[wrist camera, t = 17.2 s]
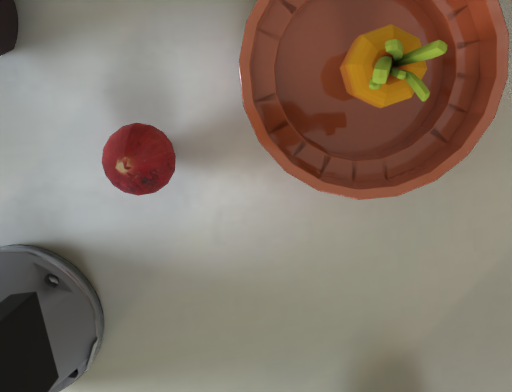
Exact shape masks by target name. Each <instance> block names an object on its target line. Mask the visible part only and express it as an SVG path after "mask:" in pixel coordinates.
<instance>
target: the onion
mask: <svg viewBox="0 0 512 392" xmlns="http://www.w3.org/2000/svg"><path fill="white" fill-rule="evenodd" d="M102 164H103V168H104V171H105V175H106V176H107V177H108V179H109V180H110V181H111V183H112V184H113V185H114V186H116V187H117V188H119V189H120V190H122V191H123V192H126V193H130V194H134V195H144V194H149V193H154V192H156V191H158V190H159V189H161V188H162V187H164V186H165V185H166V184H168V182H169V180H170V178H171V176H172V175H173V173H174V171H175V153H174V149H173V146H172V143H171V142H170V140H169V139H168V138H167V136H166V135H165V134H164V133H163V132H162V131H160V130H158V129H157V128H155V127H153V126H151V125H146V124H140V123H134V124H130V125H127V126H123V127H122V128H120V129H119V130H118V131H116V132H115V133H114V134H113V135H111V136H110V138H109V140H108V141H107V143H106V145H105V147H104V149H103V157H102Z"/></svg>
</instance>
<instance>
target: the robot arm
mask: <svg viewBox="0 0 512 392" xmlns="http://www.w3.org/2000/svg"><path fill="white" fill-rule="evenodd" d="M103 329H104V322H103V313H102V309H101V305H100V302H99V300H98V297H97V295H96V293H95V291H94V289H93V288H92V286H91V284H90V283H89V282H88V280H87V279H86V278H85V277H84V275H83V274H82V273H81V272H80V271H79V270H78V269H77V268H76V267H74V266H73V265H72V264H71V263H69V262H68V261H66V260H65V259H64V258H62V257H60V256H58V255H56V254H54V253H52V252H50V251H47V250H44V249H41V248H37V247H33V246H26V245H10V246H3V247H0V392H59V391H61V390H63V389H64V388H66V387H67V386H69V385H70V384H72V383H73V382H74V381H76V380H77V379H78V378H79V377H80V376H81V375H82V374H83V373H84V371H85V370H86V372H87V370H88V369H89V368H90V366H91V364H92V360H93V359H94V357H95V356H96V354H97V352H98V350H99V348H100V345H101V341H102V337H103Z"/></svg>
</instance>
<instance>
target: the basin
mask: <svg viewBox="0 0 512 392" xmlns="http://www.w3.org/2000/svg"><path fill="white" fill-rule="evenodd" d="M389 24H392V25H394V26H396V27H398V28H400V29H402V30H404V31H406V32H408V33H410V34H412V35H414V36H416V37H418V38H419V39H420V42H421V46H424V45H427V44H429V43H431V42H434V41H437V40H441V41H443V42H445V43H446V44H447V50H446V52H445V53H444V54H442V55H440V56H438V57H435V58H432V59H428V60H425V62H426V65H427V71H426V72H425V74H424V76H423V78H422V80H421V81H422V82H423V83H424V84H425V86H426V87H427V88H428V90H429V91H430V94H429V97H428V99H427V100H426V101H423V102H422V100H421V99H420V98H419V97H418V96H417V94H416V93H415V92H414V94H413V96H412V98H409V99H406V100H403V101H400V102H397V103H394V104H391V105H389V106H386V107H383V108H377V107H374V106H372V105H370V104H368V103H366V102H364V101H362V100H360V99H358V98H356V97H354V96H352V95H350V94H348V93H347V91H346V88H345V85H344V81H343V78H342V75H341V71H340V66H341V64H342V62H343V60H344V58H345V56H346V54H347V52H348V50H349V49H350V47H351V45H352V43H353V42H354V40H355V39H356V38H357V37H358V36H359V35H362V34H365V33H368V32H370V31H373V30H376V29H379V28H381V27H384V26H387V25H389ZM508 39H509V33H508V29H507V26H506V23H505V20H504V17H503V14H502V11H501V7H500V4H499V1H498V0H258V1H257V2H256V4H255V6H254V8H253V10H252V12H251V14H250V16H249V17H248V19H247V22H246V27H245V32H244V37H243V42H242V47H241V53H240V58H239V73H240V82H241V91H242V100H243V106H244V109H245V111H246V113H247V115H248V118H249V120H250V122H251V124H252V127H253V129H254V131H255V134H256V136H257V138H258V140H259V142H260V143H261V145H262V146H263V147H264V148H265V149H266V150H267V151H268V152H269V154H270V155H271V156H272V157H273V158H274V159H275V160H276V161H277V163H278V164H279V165H280V166H281V167H282V168H283V169H284V170H285V171H286V172H287V173H289V174H291V175H292V176H294V177H296V178H297V179H299V180H301V181H303V182H304V183H306V184H308V185H309V186H311V187H313V188H315V189H316V190H318V191H321V192H325V193H330V194H335V195H339V196H344V197H348V198H353V199H358V200H360V199H371V198H383V197H394V196H399V195H401V194H404V193H406V192H409V191H411V190H414V189H416V188H419V187H421V186H424V185H426V184H429V183H431V182H434V181H435V180H437V179H438V178H440V177H441V176H442V175H444V174H445V173H446V172H447V171H449V170H450V169H451V168H452V167H454V166H455V165H456V164H457V163H459V162H460V161H461V160H462V159H464V158H465V157H466V156H467V155H468V154H469V153H470V152H471V150H472V149H473V148H474V146H475V145H476V143H477V142H478V140H479V139H480V138H481V136H482V135H483V133H484V132H485V130H486V129H487V128H488V126H489V125H490V123H491V122H492V121H493V119H494V117H495V114H496V111H497V108H498V105H499V102H500V99H501V96H502V93H503V90H504V87H505V84H506V81H507V78H508Z"/></svg>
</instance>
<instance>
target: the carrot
mask: <svg viewBox="0 0 512 392" xmlns="http://www.w3.org/2000/svg"><path fill="white" fill-rule="evenodd" d="M446 50H447V44H446V43H445V42H443V41H441V40H437V41H434V42H431V43H429V44H427V45H424V46H421V42H420V39H419V38H418V37H416V36H414V35H412V34H410V33H408V32H406V31H404V30H402V29H400V28H398V27H396V26H394V25H392V24H389V25H387V26H384V27H381V28H379V29H376V30H373V31H370V32H368V33H365V34H362V35H359V36H358V37H357V38H356V39H355V40H354V42H353V43H352V45H351V47H350V49H349V50H348V52H347V54H346V56H345V58H344V60H343V62H342V64H341V66H340V71H341V75H342V78H343V81H344V85H345V88H346V91H347V93H348V94H350V95H352V96H354V97H356V98H358V99H360V100H362V101H364V102H366V103H368V104H370V105H372V106H374V107H377V108H383V107H386V106H389V105H391V104H394V103H397V102H400V101H403V100H406V99H409V98H412V96H413V94H414V92H415V93H416V94H417V96H418V97H419V98H420V99H421V100H422V102H423V101H426V100H427V99H428V97H429V94H430V91H429V90H428V88H427V87H426V86H425V84H424V83H423V82H422V81H421V80H422V78H423V76H424V74H425V72H426V71H427V65H426V62H425V60H428V59H432V58H435V57H438V56H440V55H442V54H444V53H445V52H446Z"/></svg>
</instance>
